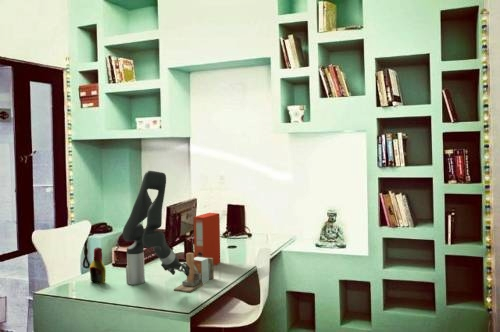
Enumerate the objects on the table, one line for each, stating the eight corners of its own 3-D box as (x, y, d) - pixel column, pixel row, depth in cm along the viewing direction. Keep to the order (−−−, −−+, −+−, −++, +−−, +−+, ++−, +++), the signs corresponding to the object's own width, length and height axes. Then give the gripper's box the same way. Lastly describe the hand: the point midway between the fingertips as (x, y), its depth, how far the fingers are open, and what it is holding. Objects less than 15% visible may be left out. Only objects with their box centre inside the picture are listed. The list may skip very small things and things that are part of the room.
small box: (190, 281, 268) (190, 259, 267) (198, 278, 273) (197, 256, 273) (202, 284, 264) (201, 260, 263) (209, 281, 269) (208, 258, 268)
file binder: (220, 262, 307) (219, 213, 305) (205, 269, 292) (203, 217, 290) (210, 261, 311) (209, 212, 309) (194, 268, 296) (193, 216, 294)
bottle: (109, 283, 270) (107, 248, 268) (99, 285, 265) (97, 250, 264) (97, 279, 278) (96, 245, 276) (87, 281, 273) (86, 247, 272)
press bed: (173, 290, 253) (173, 268, 252) (198, 277, 277) (197, 256, 276) (190, 292, 249) (189, 270, 248) (213, 278, 273) (213, 258, 272)
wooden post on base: (182, 285, 258) (181, 254, 257) (190, 280, 266) (189, 250, 264) (193, 286, 255) (192, 255, 254) (201, 282, 263) (200, 251, 262)
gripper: (183, 252, 238) (195, 268, 249) (159, 250, 244) (172, 266, 255) (177, 265, 234) (190, 281, 245) (153, 263, 239) (166, 279, 251)
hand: (181, 274), depth 250 cm, fingers open, 8 cm apart
